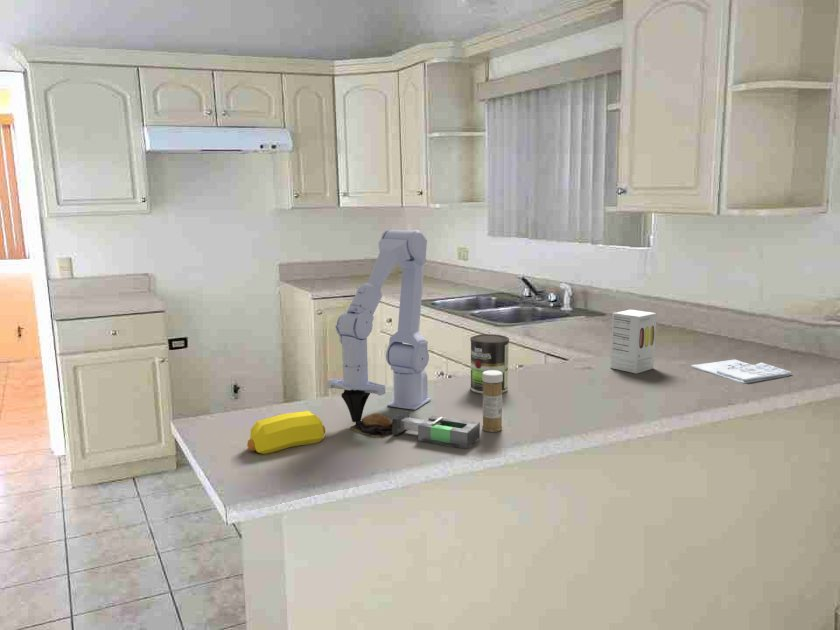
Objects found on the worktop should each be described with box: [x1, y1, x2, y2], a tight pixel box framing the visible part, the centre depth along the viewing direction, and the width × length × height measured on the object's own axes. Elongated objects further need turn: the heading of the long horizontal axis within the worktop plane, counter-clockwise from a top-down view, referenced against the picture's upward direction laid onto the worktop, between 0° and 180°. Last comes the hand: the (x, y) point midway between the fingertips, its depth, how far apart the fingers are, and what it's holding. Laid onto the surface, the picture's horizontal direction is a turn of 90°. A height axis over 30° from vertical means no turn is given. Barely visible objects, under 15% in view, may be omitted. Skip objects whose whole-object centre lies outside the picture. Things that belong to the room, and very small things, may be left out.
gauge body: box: [417, 415, 481, 450], centre depth 159 cm, size 7×12×4 cm, turn 64°
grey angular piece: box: [391, 410, 444, 436], centre depth 162 cm, size 6×10×4 cm, turn 64°
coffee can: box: [470, 333, 510, 395], centre depth 196 cm, size 10×10×14 cm
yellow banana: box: [246, 410, 326, 455], centre depth 158 cm, size 18×7×8 cm
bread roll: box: [349, 413, 393, 439], centre depth 167 cm, size 11×8×4 cm
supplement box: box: [609, 309, 657, 375], centre depth 215 cm, size 10×9×17 cm
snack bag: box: [690, 359, 793, 385], centre depth 212 cm, size 19×20×2 cm
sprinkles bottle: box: [481, 370, 503, 433], centre depth 165 cm, size 5×5×14 cm
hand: (356, 420), depth 170 cm, fingers closed
